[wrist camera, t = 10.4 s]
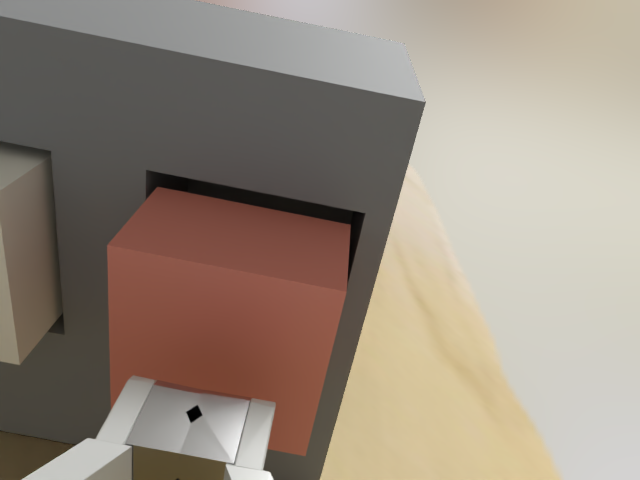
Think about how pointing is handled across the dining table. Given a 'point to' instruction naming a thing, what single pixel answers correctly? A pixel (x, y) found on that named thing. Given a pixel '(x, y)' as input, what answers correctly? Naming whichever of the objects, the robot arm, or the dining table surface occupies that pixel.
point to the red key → (228, 303)
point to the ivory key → (27, 250)
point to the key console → (194, 163)
